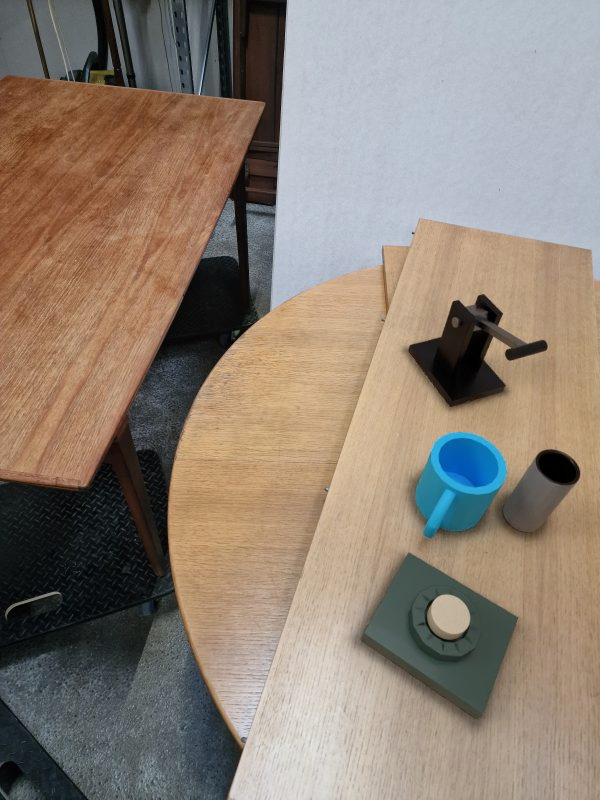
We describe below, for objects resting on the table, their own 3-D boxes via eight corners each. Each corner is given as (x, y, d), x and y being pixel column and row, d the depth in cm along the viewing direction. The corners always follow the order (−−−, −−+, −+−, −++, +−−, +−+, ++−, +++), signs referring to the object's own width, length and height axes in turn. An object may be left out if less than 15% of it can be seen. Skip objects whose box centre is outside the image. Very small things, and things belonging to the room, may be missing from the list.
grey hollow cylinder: (540, 538, 59) (581, 491, 51) (500, 525, 60) (534, 477, 52) (542, 505, 62) (581, 456, 54) (504, 493, 63) (536, 443, 55)
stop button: (470, 615, 49) (476, 608, 48) (456, 648, 47) (461, 642, 46) (436, 593, 51) (440, 586, 49) (420, 625, 49) (424, 618, 47)
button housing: (510, 624, 53) (525, 610, 50) (475, 718, 47) (489, 709, 44) (404, 560, 57) (412, 544, 54) (360, 640, 51) (365, 627, 48)
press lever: (545, 356, 62) (549, 339, 61) (511, 366, 61) (515, 348, 59) (481, 318, 71) (483, 302, 70) (450, 325, 70) (452, 309, 69)
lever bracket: (503, 391, 74) (534, 328, 65) (450, 406, 72) (474, 344, 63) (457, 337, 81) (480, 274, 72) (407, 350, 79) (424, 287, 70)
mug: (432, 460, 66) (449, 420, 59) (493, 493, 63) (517, 455, 57) (387, 530, 59) (400, 493, 53) (453, 571, 56) (475, 537, 50)
